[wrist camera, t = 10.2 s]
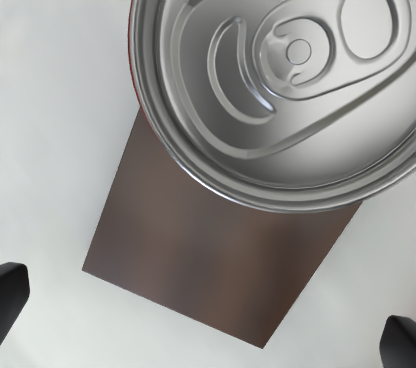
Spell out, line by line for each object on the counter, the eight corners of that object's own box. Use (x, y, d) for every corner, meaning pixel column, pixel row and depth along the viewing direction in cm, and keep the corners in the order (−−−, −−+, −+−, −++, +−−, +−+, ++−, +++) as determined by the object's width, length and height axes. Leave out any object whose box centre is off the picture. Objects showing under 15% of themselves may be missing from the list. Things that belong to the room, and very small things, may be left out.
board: (459, 34, 17) (481, 32, 15) (261, 332, 24) (262, 351, 23) (216, -85, 16) (212, -101, 15) (91, 258, 24) (79, 272, 22)
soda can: (174, 13, 16) (10, -82, 5) (316, -55, 15) (524, -403, 4) (226, 144, 18) (188, 284, 7) (356, 96, 17) (576, 176, 5)
